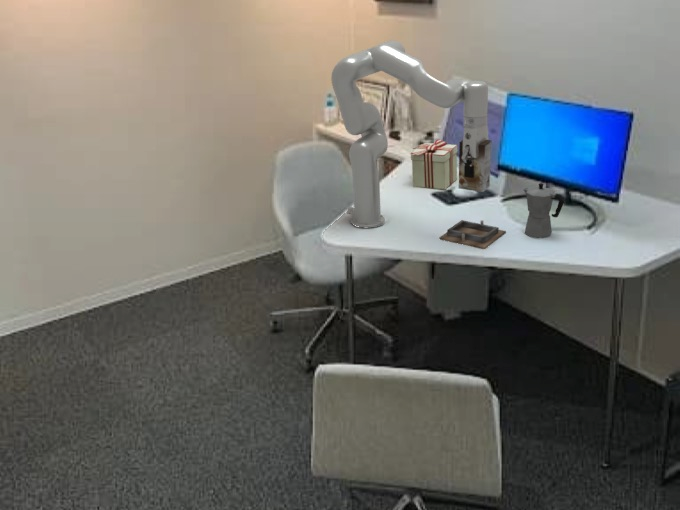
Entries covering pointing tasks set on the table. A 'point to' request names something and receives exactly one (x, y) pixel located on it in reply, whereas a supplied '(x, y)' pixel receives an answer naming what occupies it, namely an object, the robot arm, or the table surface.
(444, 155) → the gift box
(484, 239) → the tray
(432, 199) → the table surface
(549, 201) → the coffeepot
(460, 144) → the coffee box
